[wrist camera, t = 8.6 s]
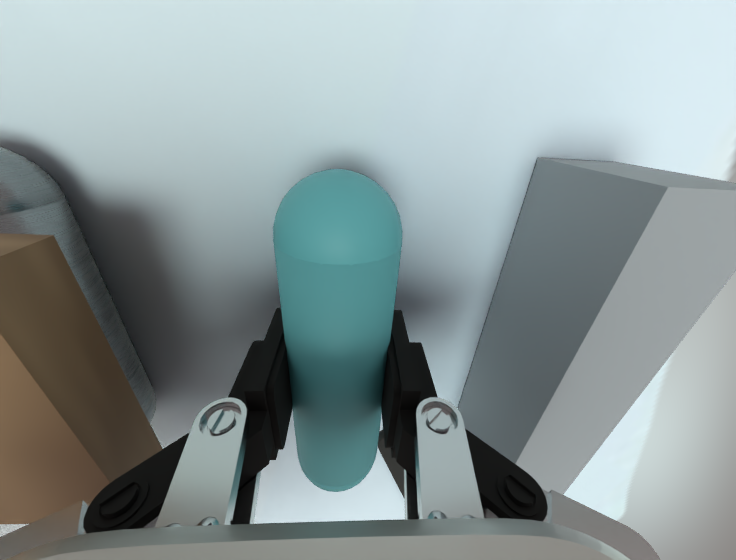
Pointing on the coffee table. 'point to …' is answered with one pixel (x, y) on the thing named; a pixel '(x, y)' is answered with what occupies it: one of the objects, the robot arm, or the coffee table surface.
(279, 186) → the coffee table surface
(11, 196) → the roller
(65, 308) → the slab
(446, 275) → the coffee table surface
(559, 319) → the block
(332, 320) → the roller
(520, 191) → the coffee table surface
